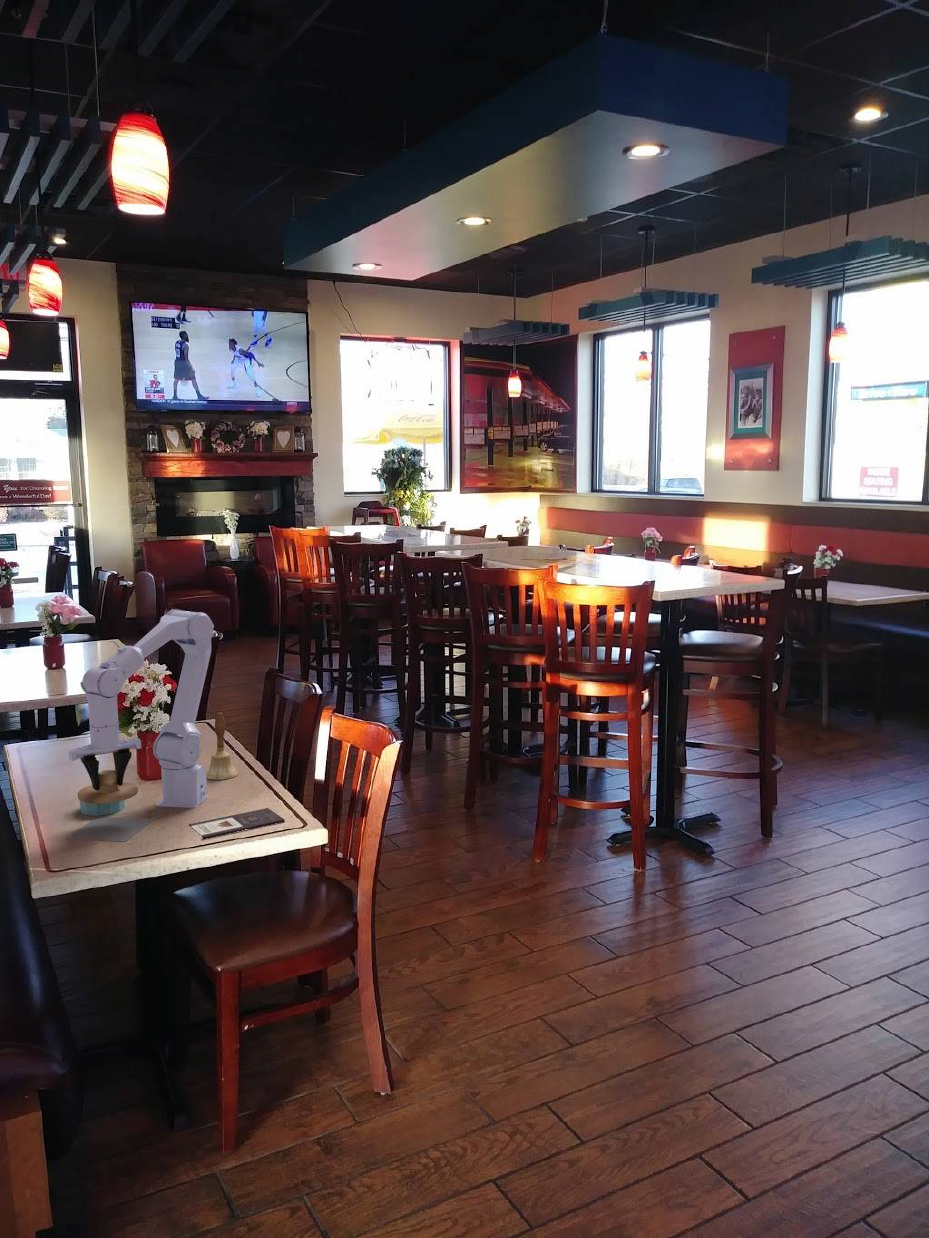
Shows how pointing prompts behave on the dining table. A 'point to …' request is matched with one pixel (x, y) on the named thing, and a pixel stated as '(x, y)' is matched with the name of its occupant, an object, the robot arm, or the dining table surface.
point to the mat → (110, 829)
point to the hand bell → (220, 755)
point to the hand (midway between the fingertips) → (107, 786)
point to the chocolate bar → (236, 823)
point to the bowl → (101, 808)
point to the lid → (107, 789)
